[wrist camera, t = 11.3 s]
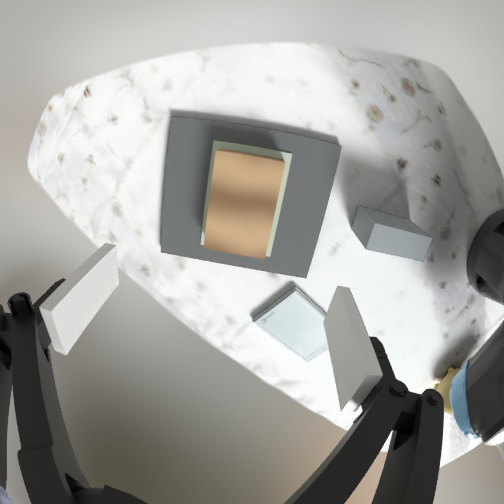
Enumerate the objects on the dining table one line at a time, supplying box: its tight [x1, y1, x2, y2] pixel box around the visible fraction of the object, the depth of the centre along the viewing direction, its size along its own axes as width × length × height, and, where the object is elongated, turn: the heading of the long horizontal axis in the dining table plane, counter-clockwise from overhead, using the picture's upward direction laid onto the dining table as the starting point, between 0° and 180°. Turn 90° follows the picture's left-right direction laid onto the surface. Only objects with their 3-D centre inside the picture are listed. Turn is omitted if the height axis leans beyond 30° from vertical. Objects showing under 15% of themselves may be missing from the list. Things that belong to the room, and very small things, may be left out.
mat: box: [161, 117, 342, 278], centre depth 32 cm, size 19×17×1 cm
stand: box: [351, 206, 432, 262], centre depth 30 cm, size 8×3×6 cm, turn 81°
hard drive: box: [253, 286, 329, 362], centre depth 40 cm, size 2×8×12 cm
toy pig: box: [434, 367, 462, 414], centre depth 41 cm, size 10×12×11 cm
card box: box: [203, 148, 285, 259], centre depth 30 cm, size 11×7×2 cm, turn 170°
